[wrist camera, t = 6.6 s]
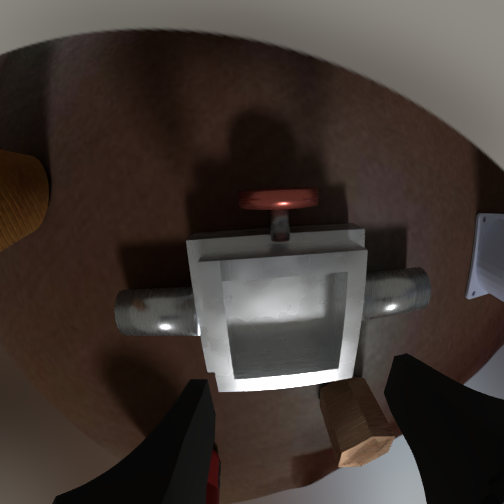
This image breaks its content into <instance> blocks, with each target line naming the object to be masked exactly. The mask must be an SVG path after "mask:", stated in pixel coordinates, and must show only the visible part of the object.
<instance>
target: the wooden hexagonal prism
mask: <svg viewBox="0 0 504 504" xmlns="http://www.w3.org/2000/svg"><path fill="white" fill-rule="evenodd" d="M320 408H321V412H322V415H323V418H324V421H325V425H326V428H327V431H328V434H329V438H330V441H331V444H332V448H333V451H334V454H335V458H336V461H337V465H338V467H355V466H363V465H365V464H367V463H368V462H370V461H372V460H374V459H376V458H378V457H380V456H382V455H383V454H385V453H387V452H388V451H389V448H390V446H391V444H392V442H393V440H394V438H395V435H394V433H393V431H392V429H391V427H390V425H389V423H388V422H387V420H386V418H385V416H384V414H383V412H382V410H381V408H380V406H379V404H378V403H377V401H376V399H375V397H374V395H373V393H372V391H371V390H370V388H369V386H368V384H367V382H366V380H365V379H364V378H359V377H355V376H352V378H348V379H342V380H337V381H332V382H331V383H329V384H327V385H326V386H324V387H322V388H321V390H320Z"/></svg>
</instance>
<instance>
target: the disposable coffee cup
mask: <svg viewBox="0 0 504 504" xmlns="http://www.w3.org/2000/svg"><path fill="white" fill-rule="evenodd" d="M48 200H49V185H48V179H47V175H46V172H45V169H44V167H43V166H42V164H41V162H40V161H39V160H38V159H37V158H35V157H34V156H30V155H25V154H21V153H16V152H11V151H6V150H1V149H0V252H1V251H3V250H4V249H6V248H7V247H9V246H10V245H12V244H13V243H15V242H17V241H18V240H19V239H22V238H23V237H25V236H27V235H29V234H30V233H32V232H34V231H36V230H37V229H38V228H39V226H40V225H41V223H42V222H43V220H44V218H45V215H46V212H47V208H48Z"/></svg>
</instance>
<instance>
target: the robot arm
mask: <svg viewBox="0 0 504 504" xmlns="http://www.w3.org/2000/svg"><path fill="white" fill-rule="evenodd" d="M488 293H490V294H492V295H493V296H495V297H497V298H498V299H500V300H502V301H503V302H504V214H492V213H479V214H477V216H476V225H475V236H474V246H473V253H472V260H471V267H470V273H469V278H468V284H467V288H466V293H465V297H466V298H467V299H471V298H475V297H478V296H482V295H485V294H488ZM384 394H385V397H386V400H387V403H388V405H389V408H390V411H391V413H392V415H393V417H394V419H395V421H396V422H397V424H398V426H399V428H400V430H401V432H402V434H403V435H404V437H405V439H406V441H407V443H408V445H409V447H410V449H411V450H412V453H413V455H414V458H415V460H416V463H417V466H418V469H419V472H420V476H421V479H422V483H423V487H424V491H425V496H426V502H427V504H504V400H503V399H499V398H495V397H492V396H489V395H486V394H483V393H481V392H478V391H475V390H473V389H471V388H468V387H466V386H464V385H462V384H460V383H458V382H456V381H454V380H453V379H451V378H449V377H447V376H445V375H443V374H442V373H440V372H438V371H437V370H435V369H433V368H432V367H430V366H428V365H426V364H425V363H423V362H421V361H420V360H418V359H416V358H414V357H413V356H411V355H409V354H407V353H406V354H402V355H398V356H394V359H393V363H392V367H391V370H390V374H389V377H388V381H387V384H386V387H385V390H384ZM214 438H215V410H214V406H213V402H212V398H211V394H210V389H209V385H208V380H207V379H191V380H190V381H189V382H188V383H187V385H186V387H185V388H184V390H183V391H182V393H181V394H180V396H179V397H178V399H177V400H176V402H175V403H174V404H173V406H172V407H171V408H170V410H169V411H168V412H167V414H166V415H165V416H164V418H163V419H162V420H161V421H160V423H159V424H158V425H157V426H156V427H155V428H154V430H153V431H152V432H151V433H150V434H149V435H148V436H147V437H146V439H145V440H144V441H143V442H142V443H141V444H140V445H139V446H138V447H136V448H135V449H134V450H133V451H132V452H131V453H130V454H129V455H128V456H126V457H125V458H124V459H123V460H121V461H120V462H119V463H118V464H116V465H115V466H114V467H112V468H111V469H109V470H108V471H106V472H105V473H103V474H101V475H100V476H98V477H96V478H95V479H93V480H91V481H90V482H88V483H86V484H84V485H82V486H80V487H78V488H76V489H73V490H71V491H68V492H66V493H63V494H61V495H58V496H56V498H55V499H54V501H53V504H206V489H207V481H208V475H209V469H210V463H211V457H212V451H213V444H214Z"/></svg>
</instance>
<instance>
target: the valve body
mask: <svg viewBox="0 0 504 504" xmlns="http://www.w3.org/2000/svg"><path fill="white" fill-rule="evenodd" d="M238 198H239V208H241V209H249V210H269V213H270V228H257V229H242V230H228V231H215V232H202V233H193V234H192V235H191V236H190V237H189V238H188V239H187V240H186V244H187V252H188V260H189V267H190V274H191V281H192V287H179V288H155V289H126V290H121V291H120V292H119V293H118V295H117V297H116V301H115V320H116V324H117V326H118V329H119V330H120V332H121V333H122V334H124V335H139V336H199V335H200V336H201V341H202V346H203V352H204V357H205V362H206V367H207V371H208V372H215V375H216V380H217V385H218V390H219V392H235V391H255V390H268V389H279V388H289V387H297V386H305V385H312V384H319V383H325V382H331V381H337V380H342V379H348V378H352V375H353V370H354V365H355V359H356V353H357V347H358V341H359V334H360V327H361V321H362V320H368V319H374V318H380V317H386V316H391V315H396V314H401V313H406V312H411V311H416V310H421V309H424V308H425V307H426V306H427V305H428V303H429V300H430V296H431V284H430V280H429V277H428V275H427V273H426V272H425V270H424V269H422V268H420V267H414V268H406V269H398V270H390V271H381V272H372V273H366V269H367V253H368V250H367V249H365V248H364V247H365V229H364V228H362V227H360V226H357V225H355V224H353V223H345V224H324V225H306V226H290V219H289V209H295V208H306V207H312V206H317V205H319V198H318V188H315V187H281V188H263V189H251V190H242V191H238Z"/></svg>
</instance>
